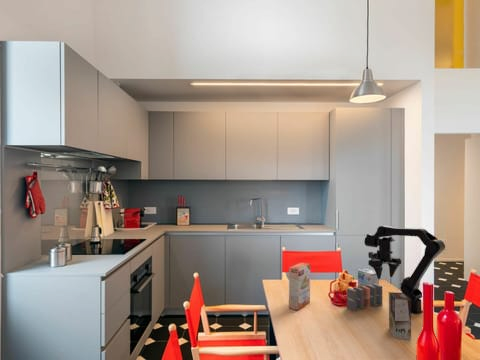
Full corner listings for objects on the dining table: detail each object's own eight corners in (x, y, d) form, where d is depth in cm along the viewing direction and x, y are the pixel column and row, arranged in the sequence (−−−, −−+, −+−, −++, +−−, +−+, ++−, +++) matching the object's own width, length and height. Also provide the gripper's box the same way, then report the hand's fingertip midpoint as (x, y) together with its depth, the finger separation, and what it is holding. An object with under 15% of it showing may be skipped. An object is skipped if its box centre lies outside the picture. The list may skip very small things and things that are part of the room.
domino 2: (363, 309, 155) (363, 289, 155) (361, 310, 154) (360, 290, 155) (356, 305, 160) (355, 286, 160) (353, 306, 159) (353, 287, 159)
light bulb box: (357, 286, 190) (357, 269, 191) (365, 285, 193) (365, 268, 194) (371, 292, 181) (371, 273, 181) (379, 290, 184) (379, 272, 184)
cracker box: (299, 311, 153) (299, 269, 153) (288, 308, 156) (288, 267, 157) (310, 302, 164) (310, 263, 164) (300, 300, 167) (300, 261, 168)
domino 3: (370, 308, 157) (370, 288, 157) (367, 308, 156) (367, 288, 156) (362, 304, 161) (362, 285, 162) (360, 305, 161) (359, 286, 161)
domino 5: (382, 305, 161) (382, 286, 161) (380, 305, 160) (380, 286, 160) (374, 301, 165) (374, 283, 165) (372, 302, 165) (372, 283, 165)
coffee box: (411, 340, 124) (411, 300, 124) (394, 338, 125) (394, 298, 126) (404, 329, 133) (404, 292, 133) (388, 328, 134) (388, 291, 135)
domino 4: (376, 306, 159) (376, 287, 159) (374, 307, 158) (373, 287, 158) (368, 303, 163) (368, 284, 164) (366, 303, 163) (366, 284, 163)
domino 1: (356, 310, 153) (356, 290, 153) (354, 311, 152) (354, 291, 153) (349, 307, 158) (349, 287, 158) (346, 307, 157) (346, 288, 157)
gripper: (384, 245, 177) (384, 272, 176) (360, 247, 169) (360, 276, 169) (401, 248, 167) (402, 277, 166) (376, 251, 159) (377, 281, 159)
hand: (385, 278), depth 165 cm, fingers open, 9 cm apart
